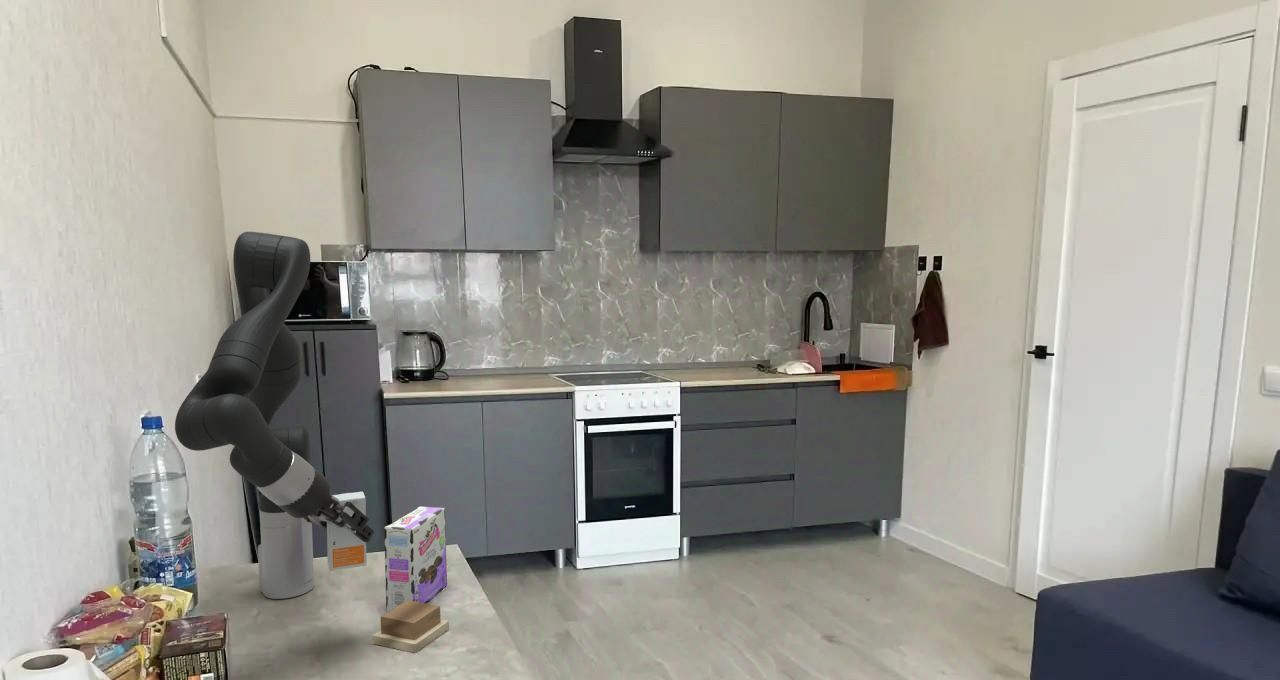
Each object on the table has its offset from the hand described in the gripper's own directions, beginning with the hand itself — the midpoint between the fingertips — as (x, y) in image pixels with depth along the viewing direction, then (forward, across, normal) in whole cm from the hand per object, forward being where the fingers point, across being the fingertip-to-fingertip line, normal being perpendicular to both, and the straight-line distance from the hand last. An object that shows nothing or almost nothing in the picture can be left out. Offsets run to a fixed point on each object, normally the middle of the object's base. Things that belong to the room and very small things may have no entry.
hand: (354, 533), depth 125 cm
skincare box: (+3, 0, +5) cm, 5 cm away
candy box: (+24, +2, +2) cm, 25 cm away
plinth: (+16, -9, +10) cm, 20 cm away
